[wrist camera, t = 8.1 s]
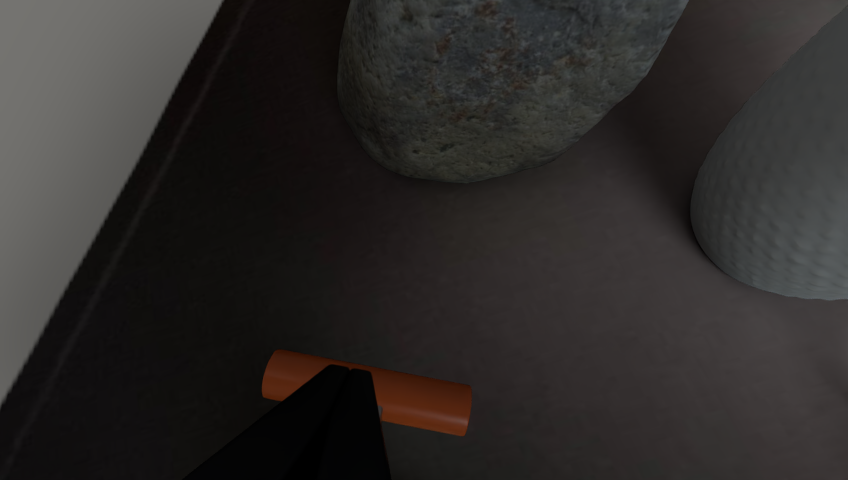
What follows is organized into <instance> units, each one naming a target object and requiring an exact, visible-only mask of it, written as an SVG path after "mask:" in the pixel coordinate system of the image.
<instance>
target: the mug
mask: <svg viewBox="0 0 848 480" xmlns="http://www.w3.org/2000/svg"><path fill="white" fill-rule="evenodd" d="M690 218H691V224H692V228H693V231H694V234H695V237H696V239H697V241H698V243H699V245H700V246H701V248H702V249H703V251H704V252H705V254H706V255H707V256H708V257H709V258H710V260H711V261H712V262H713V263H714V264H715V265H716V266H717V267H719V268H720V269H721V270H722V271H724V272H725V273H726V274H728V275H729V276H731V277H733V278H734V279H736V280H738V281H740V282H743V283H745V284H747V285H750V286H752V287H755V288H758V289H760V290H764V291H768V292H772V293H777V294H781V295H783V296H787V297H799V298H803V299H824V300H837V299H848V6H846V7H845V8H844V9H843V10H842V11H841V12H840V13H839V14H838V15H836V16H835V17H834V18H833V19H832V20H831V21H830V22H829V23H827V24H826V25H824V26H823V27H822V28H821V29H820V30H819V32H818V33H817V34H816V35H815V36H813V37H812V38H811V39H810V40H809V41H808V42H807V43H806V44H805V45H804V46H802V47H801V48H800V49H799V50H798V51H797V52H796V53H795V54H793V55H792V56H791V57H790V58H789V59H788V61H787V62H785V63H784V64H783V66H782V67H781V68H780V69H779V70H777V71H776V72H775V73H773V75H772V76H771V77H770V78H769V79H767V80H766V81H765V82H764V84H763V85H762V86H761V87H760V89H759V90H758V91H757V92H756V93H755V94H753V95H752V96H751V97H750V98H749V100H748V101H747V102H745V103H744V105H743V107H742V109H741V110H740V111H739V112H738V113H736V114H735V115H734V117H733V118H732V119H731V120H730V122H729V124H728V125H727V127H726V129H725V130H724V131H723V132H722V133H721V134H720V135H719V136H718V138H717V139H716V142H715V144H714V146H713V147H712V148H711V149H710V150H709V152H708V153H707V155H706V158H705V161H704V163H703V164H702V166H701V167H700V168H699V173H698V176H697V178H696V180H695V181H694V188H693V192H692V197H691V205H690Z"/></svg>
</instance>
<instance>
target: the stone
mask: <svg viewBox="0 0 848 480" xmlns="http://www.w3.org/2000/svg"><path fill="white" fill-rule="evenodd" d="M688 1H689V0H351V1H350V5H349V8H348V12H347V16H346V19H345V24H344V29H343V33H342V38H341V43H340V51H339V62H338V75H337V95H338V101H339V106H340V111H341V113H342V115H343V117H344V118H345V120H346V121H347V123H348V125H349V127H350V128H351V130H352V131H353V133H354V135H355V136H356V138H357V140H358V142H359V143H360V145H361V147H362V148H363V149H364V150H365V151H366V153H367V154H368V155H369V156H370V157H371V158H372V159H373V160H374V161H376V162H377V163H378V164H380V165H381V166H383V167H384V168H385V169H387V170H390V171H392V172H395V173H398V174H400V175H403V176H407V177H411V178H419V179H427V180H434V181H439V182H455V183H467V184H468V183H470V182H477V181H482V180H486V179H490V178H494V177H499V176H505V175H508V174H512V173H515V172H519V171H522V170H525V169H529V168H534V167H539V166H542V165H544V164H547V163H549V162H551V161H553V160H555V159H556V158H558V157H559V156H560V155H562V154H563V153H564V152H566V151H567V150H569V149H570V148H571V147H572V146H573V145H574V144H575V143H576V142H577V141H578V140H579V139H580V138H581V137H582V136H583V135H585V134H586V133H587V132H588V131H589V130H590V129H591V128H592V127H594V126H595V125H596V124H597V123H598V122H599V121H600V120H601V119H602V118H603V117H604V116H605V115H606V114H607V113H608V112H609V111H610V110H611V109H612V108H613V107H614V106H615V105H616V104H618V103H619V102H620V101H621V100H623V99H624V98H625V97H627V96H628V95H629V94H630V93H631V92H632V91H633V90H634V89H635V88H636V87H637V85H638V84H639V83H640V82H641V80H642V79H643V78H644V77H645V76H646V75H647V73H648V72H649V70H650V68H651V67H652V65H653V63H654V62H655V60H656V58H657V57H658V55H659V53H660V51H661V50H662V48H663V46H664V44H665V42H666V40H667V38H668V36H669V34H670V33H671V31H672V29H673V28H674V26H675V24H676V23H677V21H678V19H679V18H680V16H681V14H682V12H683V11H684V9H685V7H686V5H687V3H688Z"/></svg>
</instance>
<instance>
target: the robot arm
mask: <svg viewBox="0 0 848 480" xmlns="http://www.w3.org/2000/svg"><path fill="white" fill-rule="evenodd" d="M182 480H391V475H390V469H389V464H388V458H387V453H386V448H385V442H384V437H383V431H382V426H381V421H380V415H379V410H378V404H377V399H376V394H375V388H374V383H373V377H372V374H371V372H370V371H367V370H361V369H356V368H353V369H351V370H350V369H349V368H348V367H346V366H340V365H335V364H330V365H328V366H326V367H325V368H324V369H323V370H321V371H320V372H319V373H317V374H316V375H315V376H314V377H312V378H311V379H310V380H309V381H307V382H306V383H305V384H303V385H302V386H301V387H300V388H298V389H297V390H296V391H294V392H293V393H292V394H291V395H289V396H288V397H287V398H286V399H284V400H283V401H282V402H280V403H279V404H278V405H277V406H275V407H274V408H273V409H271V410H270V411H269V412H268V413H266V414H265V415H264V416H263V417H261V418H260V419H259V420H257V421H256V422H255V423H254V424H252V425H251V426H250V427H249V428H247V429H246V430H245V431H243V432H242V433H241V434H240V435H238V436H237V437H236V438H234V439H233V440H232V441H231V442H229V443H228V444H227V445H226V446H224V447H223V448H222V449H220V450H219V451H218V452H217V453H215V454H214V455H213V456H211V457H210V458H209V459H208V460H206V461H205V462H204V463H203V464H201V465H200V466H199V467H197V468H196V469H195V470H194V471H192V472H191V473H190V474H188V475H187V476H186V477H185V478H183V479H182Z"/></svg>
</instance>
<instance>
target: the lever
mask: <svg viewBox="0 0 848 480" xmlns="http://www.w3.org/2000/svg"><path fill="white" fill-rule="evenodd" d="M330 364H335V365H340V366H346V367H348V368H349V369H350V370H351V369H353V368H356V369H361V370H367V371H370V372H371V374H372V377H373V383H374V388H375V394H376V399H377V404H378V410H379V415H380V421H381V423H382V421H386V422H391V423H396V424H401V425H406V426H412V427H417V428H422V429H427V430H432V431H437V432H443V433H448V434H453V435H458V436H464V435H465V433H466V431H467V427H468V423H469V418H470V411H471V401H472V389H471V386H470V385H465V384H460V383H455V382H449V381H444V380H439V379H434V378H428V377H423V376H418V375H413V374H407V373H402V372H397V371H392V370H386V369H381V368H376V367H371V366H366V365H360V364H355V363H350V362H345V361H339V360H334V359H329V358H324V357H318V356H313V355H308V354H303V353H297V352H292V351H287V350H282V349H278V350H276V351H275V352H274V353H273V355H272V356H271V358H270V360H269V362H268V364H267V367H266V370H265V373H264V377H263V382H262V395H263V397H264V398H267V399H272V400H277V401H283V400H284V399H286V398H287V397H288V396H289V395H291V394H292V393H293V392H294V391H296V390H297V389H298V388H300V387H301V386H302V385H303V384H305V383H306V382H307V381H309V380H310V379H311V378H312V377H314V376H315V375H316V374H317V373H319V372H320V371H321V370H323V369H324V368H325V367H326V366H328V365H330Z"/></svg>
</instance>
